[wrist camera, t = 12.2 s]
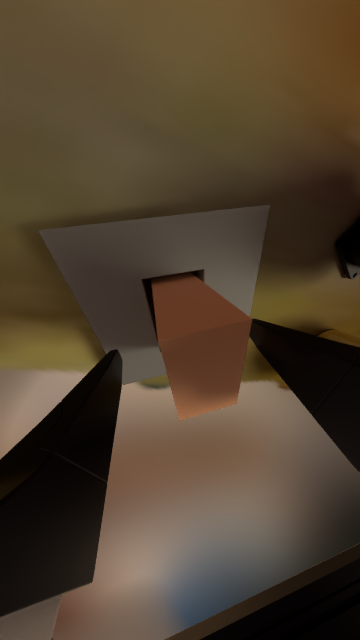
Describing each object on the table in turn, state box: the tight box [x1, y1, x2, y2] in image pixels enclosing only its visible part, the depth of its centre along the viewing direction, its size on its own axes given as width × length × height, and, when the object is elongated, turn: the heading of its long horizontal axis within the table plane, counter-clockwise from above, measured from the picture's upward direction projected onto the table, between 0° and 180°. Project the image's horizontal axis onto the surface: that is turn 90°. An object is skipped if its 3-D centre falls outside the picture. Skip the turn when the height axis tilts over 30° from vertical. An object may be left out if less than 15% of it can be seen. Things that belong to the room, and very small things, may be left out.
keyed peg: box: [151, 272, 252, 421], centre depth 10 cm, size 6×4×9 cm, turn 7°
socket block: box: [38, 205, 270, 385], centre depth 13 cm, size 14×14×3 cm
